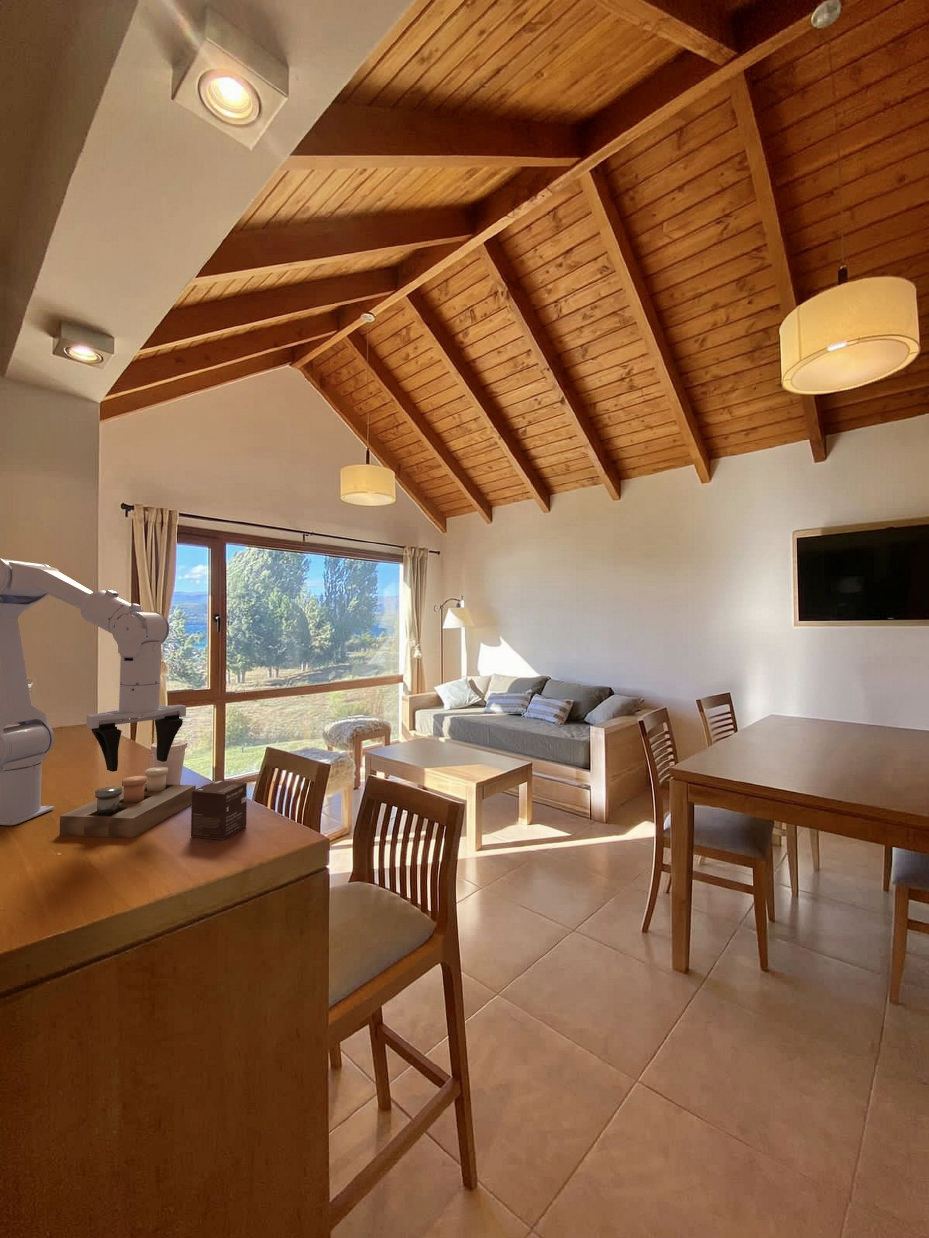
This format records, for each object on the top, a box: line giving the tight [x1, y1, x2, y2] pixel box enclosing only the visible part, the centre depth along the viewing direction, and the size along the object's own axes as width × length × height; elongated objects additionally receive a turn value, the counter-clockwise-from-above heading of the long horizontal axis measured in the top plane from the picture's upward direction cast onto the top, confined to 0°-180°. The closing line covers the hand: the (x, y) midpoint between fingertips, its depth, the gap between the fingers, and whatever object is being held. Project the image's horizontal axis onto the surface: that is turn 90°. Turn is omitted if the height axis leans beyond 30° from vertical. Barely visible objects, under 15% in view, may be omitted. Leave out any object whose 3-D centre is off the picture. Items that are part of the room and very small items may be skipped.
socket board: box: [59, 783, 197, 839], centre depth 90 cm, size 12×17×3 cm
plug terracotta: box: [121, 775, 147, 803], centre depth 90 cm, size 4×4×4 cm
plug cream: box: [144, 766, 168, 792], centre depth 96 cm, size 4×4×4 cm
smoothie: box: [150, 739, 189, 785], centre depth 103 cm, size 6×6×14 cm
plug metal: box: [94, 785, 123, 816], centre depth 84 cm, size 4×4×4 cm
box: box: [190, 780, 248, 841], centre depth 84 cm, size 6×6×7 cm
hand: (137, 765), depth 86 cm, fingers open, 7 cm apart
